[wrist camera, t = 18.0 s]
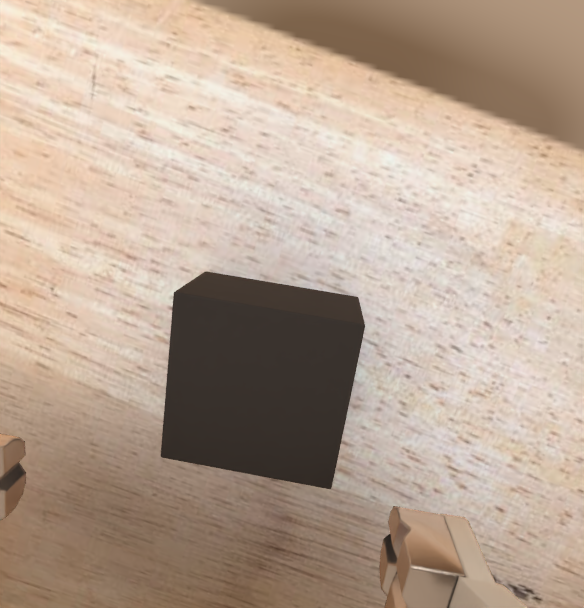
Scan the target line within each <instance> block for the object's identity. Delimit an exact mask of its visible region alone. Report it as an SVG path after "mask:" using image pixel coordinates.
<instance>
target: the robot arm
mask: <svg viewBox="0 0 584 608" xmlns="http://www.w3.org/2000/svg"><path fill="white" fill-rule="evenodd" d="M25 455H26V452H25V441H23V440H22V439H21V438H20V437H15V436H10V435H6V434H1V433H0V520H2V519H4V518H6V517H7V516H8V515H9V514H10V513H11V512H12V511H13V510H14V509H15V507H16V506H17V504H18V502H19V500H20V498H21V497H22V495H23V492H24V488H25V484H26V472H25V470H24V469H23V467H22V466H21V464H20V463H19V462H20V461H21V460H22V458H23V457H24V456H25ZM388 524H389V529H390V534H389V535H388V536H387V537H385V538H384V540H383V544H382V549H381V555H380V565H379V568H380V583H381V589H382V590H383V592H384V593H385V594H386V596H387V600H386V604H385V608H528V607H527V606H526V605H525V604H524V603H523V602H521V601H520V600H519V599H518V598H517V597H516V596H515V595H514V594H513V593H512V592H511V591H510V590H508V589H507V588H506V587H505V586H504V585H502V584H497V583H495V581H494V578H493V576H492V574H491V571H490V569H489V567H488V565H487V562H486V560H485V558H484V556H483V553H482V551H481V549H480V546H479V544H478V542H477V540H476V537H475V535H474V533H473V530H472V528H471V526H470V524H469V521H468V520H467V519H466V518H465V517H460V516H453V515H447V514H436V513H430V512H424V511H419V510H413V509H407V508H402V507H396V506H393V508H392V510H391V513H390V516H389V520H388Z"/></svg>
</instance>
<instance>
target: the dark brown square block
mask: <svg viewBox="0 0 584 608" xmlns="http://www.w3.org/2000/svg"><path fill="white" fill-rule="evenodd" d="M364 328H365V324H364V320H363V316H362V311H361V307H360V303H359V299H358V297H354V296H348V295H342V294H336V293H330V292H324V291H318V290H312V289H306V288H300V287H294V286H288V285H282V284H277V283H271V282H265V281H259V280H253V279H247V278H241V277H235V276H229V275H223V274H217V273H211V272H204V273H203V274H201V275H200V276H198V277H197V278H195V279H194V280H192V281H191V282H189V283H188V284H186V285H185V286H183V287H182V288H180V289H179V290H177V291H176V292H174V299H173V312H172V324H171V336H170V349H169V361H168V374H167V386H166V398H165V411H164V423H163V436H162V448H161V457H163V458H168V459H173V460H179V461H184V462H189V463H195V464H200V465H205V466H210V467H216V468H221V469H226V470H232V471H237V472H242V473H247V474H253V475H258V476H263V477H269V478H274V479H279V480H284V481H290V482H295V483H300V484H306V485H311V486H316V487H321V488H327V489H331V487H332V483H333V478H334V473H335V468H336V463H337V458H338V454H339V449H340V444H341V439H342V434H343V430H344V425H345V420H346V415H347V410H348V405H349V401H350V396H351V391H352V386H353V381H354V377H355V372H356V367H357V362H358V357H359V353H360V348H361V343H362V338H363V333H364Z"/></svg>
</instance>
